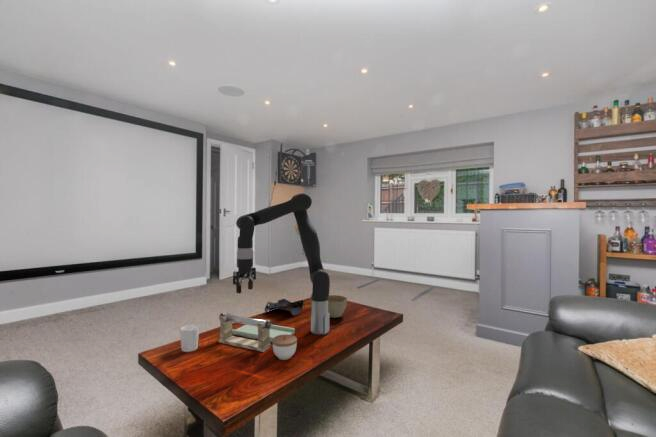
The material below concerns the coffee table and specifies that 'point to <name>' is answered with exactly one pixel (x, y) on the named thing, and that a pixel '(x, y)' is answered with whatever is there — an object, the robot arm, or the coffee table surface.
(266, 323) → the steel rod
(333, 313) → the planter bowl
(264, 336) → the rack
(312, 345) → the coffee table surface
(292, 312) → the grey mechanical device
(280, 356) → the lidded jar
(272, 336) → the mat tray
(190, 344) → the white cup
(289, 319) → the coffee table surface
